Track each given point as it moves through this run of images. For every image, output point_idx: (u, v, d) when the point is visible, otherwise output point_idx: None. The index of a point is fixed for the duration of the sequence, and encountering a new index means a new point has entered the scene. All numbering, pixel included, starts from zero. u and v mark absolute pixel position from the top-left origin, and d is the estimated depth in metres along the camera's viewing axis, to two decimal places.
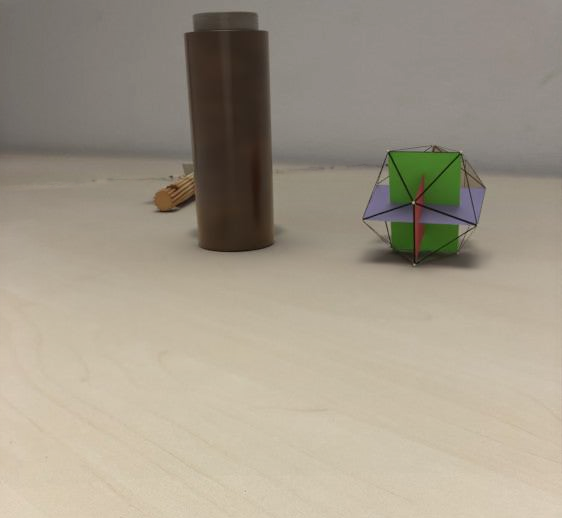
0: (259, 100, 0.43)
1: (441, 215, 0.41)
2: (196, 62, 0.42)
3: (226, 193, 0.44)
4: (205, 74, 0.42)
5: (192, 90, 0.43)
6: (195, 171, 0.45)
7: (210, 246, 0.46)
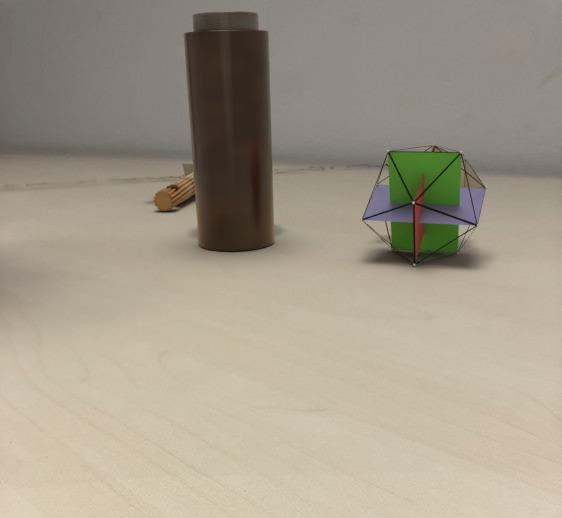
0: (259, 100, 0.43)
1: (441, 215, 0.41)
2: (196, 62, 0.42)
3: (226, 193, 0.44)
4: (205, 74, 0.42)
5: (192, 90, 0.43)
6: (195, 171, 0.45)
7: (210, 246, 0.46)
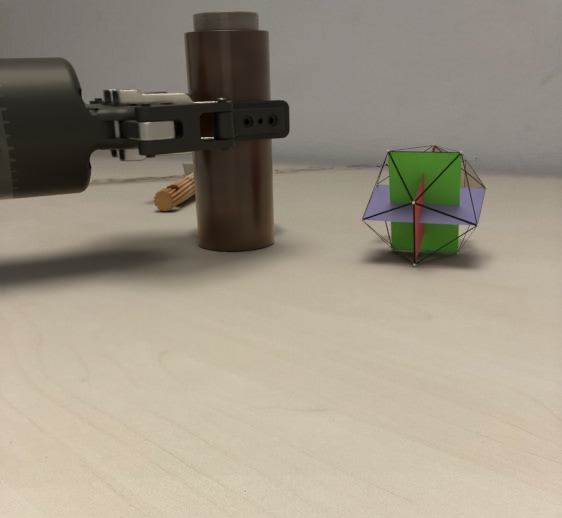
0: (259, 100, 0.43)
1: (441, 215, 0.41)
2: (196, 62, 0.42)
3: (226, 193, 0.44)
4: (205, 73, 0.42)
5: (192, 90, 0.43)
6: (195, 171, 0.45)
7: (210, 246, 0.46)
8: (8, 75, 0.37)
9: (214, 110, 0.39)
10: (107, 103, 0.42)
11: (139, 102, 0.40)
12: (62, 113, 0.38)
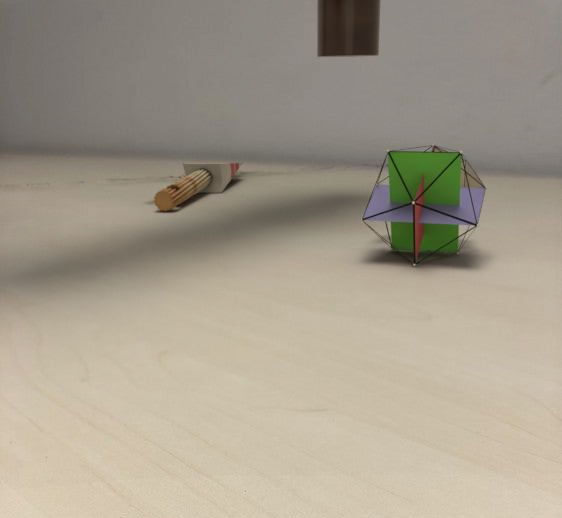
0: None
1: (441, 215, 0.41)
2: None
3: (361, 3, 0.56)
4: None
5: None
6: None
7: (343, 52, 0.57)
8: None
9: None
10: None
11: None
12: None
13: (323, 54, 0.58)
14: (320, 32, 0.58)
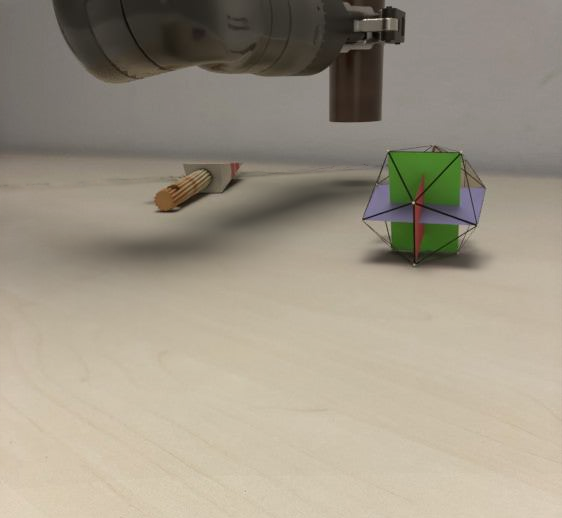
0: None
1: (441, 215, 0.41)
2: None
3: (371, 80, 0.66)
4: None
5: None
6: (344, 67, 0.66)
7: (356, 119, 0.68)
8: None
9: (403, 16, 0.61)
10: None
11: (349, 11, 0.60)
12: (340, 11, 0.56)
13: (337, 120, 0.68)
14: (334, 102, 0.68)
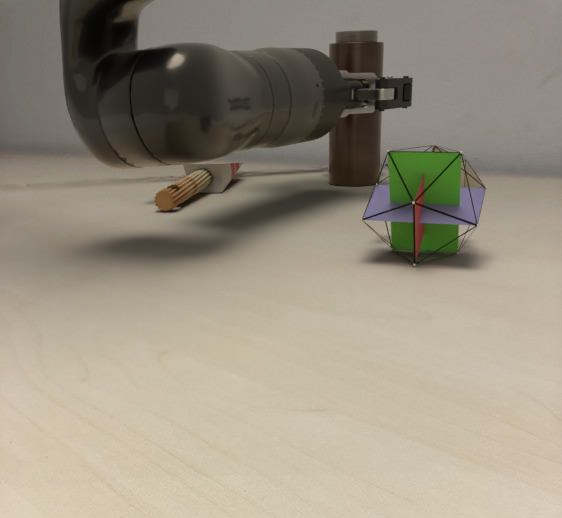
0: None
1: (441, 215, 0.41)
2: (355, 61, 0.66)
3: (369, 146, 0.69)
4: (362, 69, 0.66)
5: None
6: (343, 134, 0.68)
7: (355, 183, 0.70)
8: (312, 58, 0.56)
9: (407, 82, 0.62)
10: None
11: (347, 78, 0.63)
12: (339, 84, 0.58)
13: (337, 184, 0.71)
14: (334, 166, 0.70)
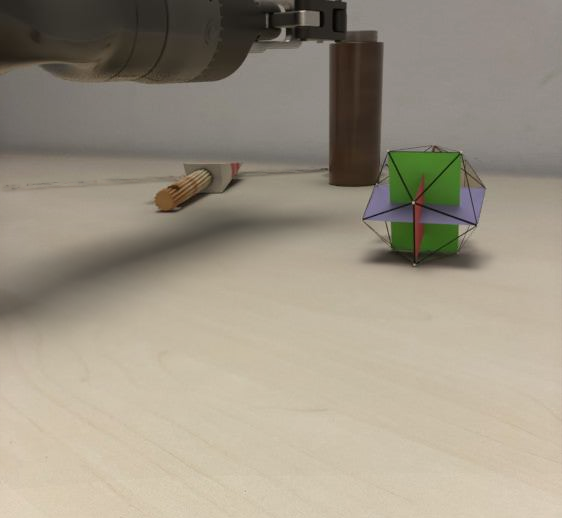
0: None
1: (441, 215, 0.41)
2: (355, 61, 0.66)
3: (369, 146, 0.69)
4: (362, 69, 0.66)
5: (348, 80, 0.66)
6: (343, 134, 0.68)
7: (355, 183, 0.70)
8: None
9: (339, 7, 0.49)
10: None
11: (263, 2, 0.49)
12: (245, 3, 0.45)
13: (337, 184, 0.71)
14: (334, 166, 0.70)
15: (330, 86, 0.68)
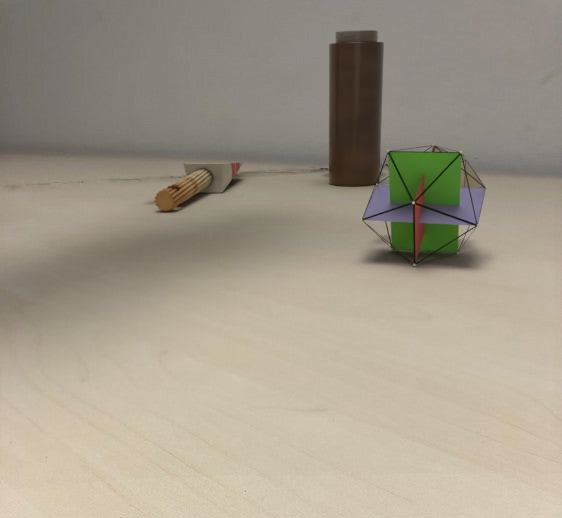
0: None
1: (441, 215, 0.41)
2: (355, 61, 0.66)
3: (369, 146, 0.69)
4: (362, 69, 0.66)
5: (348, 80, 0.66)
6: (343, 134, 0.68)
7: (355, 183, 0.70)
8: None
9: None
10: None
11: None
12: None
13: (337, 184, 0.71)
14: (334, 166, 0.70)
15: (330, 86, 0.68)
